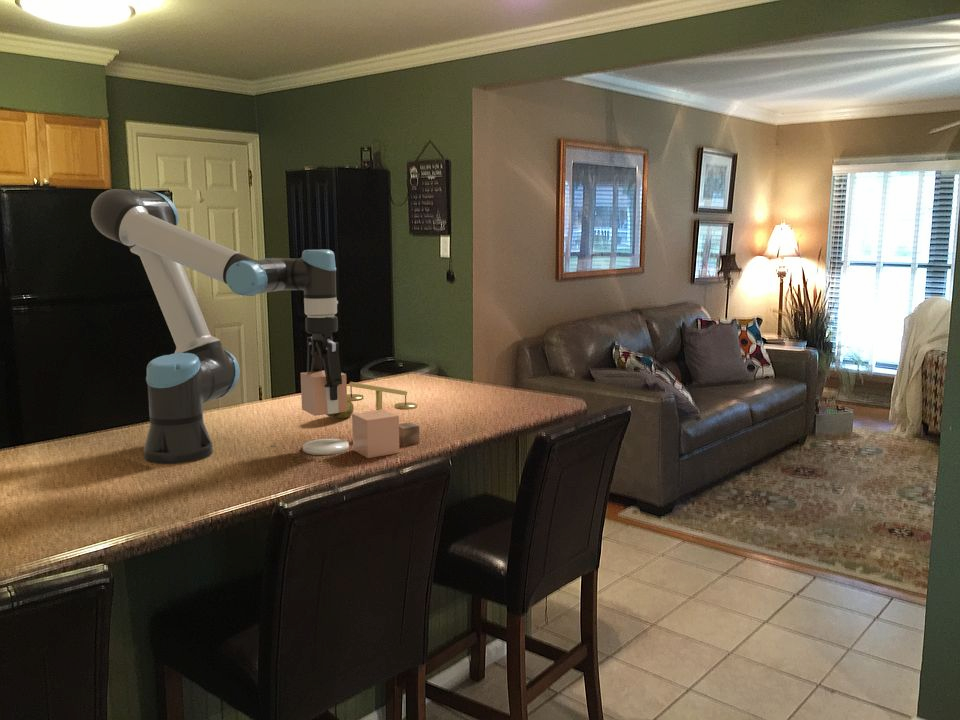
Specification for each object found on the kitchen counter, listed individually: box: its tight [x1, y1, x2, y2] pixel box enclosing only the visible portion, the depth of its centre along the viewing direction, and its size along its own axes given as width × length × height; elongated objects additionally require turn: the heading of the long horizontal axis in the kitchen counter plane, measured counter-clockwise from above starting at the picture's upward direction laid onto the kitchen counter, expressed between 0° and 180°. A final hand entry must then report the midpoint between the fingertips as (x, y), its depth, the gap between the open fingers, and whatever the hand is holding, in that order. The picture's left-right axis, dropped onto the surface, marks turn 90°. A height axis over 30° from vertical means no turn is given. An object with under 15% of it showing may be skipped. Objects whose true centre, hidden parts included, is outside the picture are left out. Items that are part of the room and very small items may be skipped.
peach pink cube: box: [300, 369, 348, 417], centre depth 192 cm, size 8×8×9 cm
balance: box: [347, 381, 418, 411], centre depth 207 cm, size 21×6×15 cm, turn 124°
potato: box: [325, 401, 354, 420], centre depth 225 cm, size 8×13×8 cm, turn 139°
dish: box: [302, 438, 350, 456], centre depth 195 cm, size 11×11×1 cm
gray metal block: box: [399, 422, 420, 447], centre depth 200 cm, size 4×4×4 cm
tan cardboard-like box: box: [351, 408, 400, 459], centre depth 192 cm, size 8×8×9 cm
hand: (325, 409), depth 193 cm, fingers closed on peach pink cube, 8 cm apart
